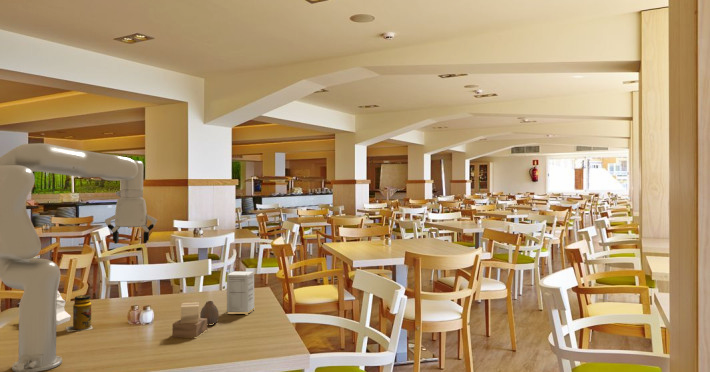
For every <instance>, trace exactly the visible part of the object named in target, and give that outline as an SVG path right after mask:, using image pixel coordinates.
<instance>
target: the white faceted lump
mask: <svg viewBox="0 0 710 372" xmlns="http://www.w3.org/2000/svg"><path fill="white" fill-rule="evenodd" d="M65 305H66V300H65V299H63V297H62V295H61V293H60V291H59V290H58V292H57V307H56V311H57V313H56V326H59V325H61V324H64V323H67V322H69V321H70V320H71V317H72V316H71V314H69V313H68V312H67V311H66V310H65Z"/></svg>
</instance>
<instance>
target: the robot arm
mask: <svg viewBox="0 0 710 372" xmlns="http://www.w3.org/2000/svg"><path fill="white" fill-rule="evenodd" d="M33 172H40V173H41V172H42V173H50V174H56V175H65V176H71V177H79V178H97V177H98V178H101V179H102V180H105V181H120V184H119V185H120V187H119V188H120V189H119V191H115V196H118V197H119V198H117V201H116V205H115V211H114V213H115V214H114V215H112V216H110V217H107V218H106V219H105V220H104V223H105V224H106V226H107V228H108V229H109V230H110V231H111V232H112V241H113V243H114V244H118V243H119V241H120V240H119V239H120V238H119V236H120V233H119V229H120V228H141V229H143V230H144V232H143V244H148V241H149V240H150V232H151V230H152V229H153V228H154V227H156V224H157V222H158V219H157V218H155V217H153V216H151V215H149V214H147V213H148V212H147V204H146V199H145V198H144V163H143V161H141V160H134V159H131V158H130V157H125V156H119V155H115V154H108V153H107V154H106V153H101V152H94V151H88V150H82V149H75V148H72V147H71V148H70V147H66V146H65V147H64V146H59V145H56V144H50V143H44V142H43V143H23V144H20V145H17V146H16V147H14V148H12V149H11V150H9V151H7V152H5V154H3V155H1V156H0V280H1V282H2V283H3V284H4V285H5V286H6V287H9V288H11V289H15V290H22V291H23V294H22V296H21V299H20V301H19V305H18V361H15V362H14V363H12V365H11V370H12V371H13V372H43V371H47V370H51V369H55V368H56V367H59V366H60V365H62V362H63V357H61V356H59V355H57V325H56V313H57V311H56V307H57V292H58V291H59V287H60V286H59V285H60V282H61V278H62V277H61V274H62V273H61V270H60V267H59V265H58V264H57V263H56V262H55V261H53V260H50V259H46V258H40V257H37V256H38V255H39V254H40V252H41V250H42V242H41V238H40V236H39V234H38V233H37V230H36V227H34V224H33V222H32V220H31V218H30V216H29V213H28V211H27V200H28V197H29V195H30V193H31V192H32V190H33V188H34V185H35V180H36V179H35V174H34V173H33ZM148 220H149V221H150V222H151V223H150V225H147V223H148ZM112 221H114V225H113V224H112Z"/></svg>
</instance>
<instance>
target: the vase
mask: <svg viewBox="0 0 710 372" xmlns="http://www.w3.org/2000/svg"><path fill="white" fill-rule="evenodd" d="M218 309H219V308H218V307H217V306H216V305H215V303H214V301H213V300H208V301H206V302H205V304H204V305H203V307H202V308H201V310H200V312H199V318H206V319H207V324H213V323H215V324H216V323H217V322H218V320H219V316H220V313H219V310H218Z"/></svg>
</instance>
